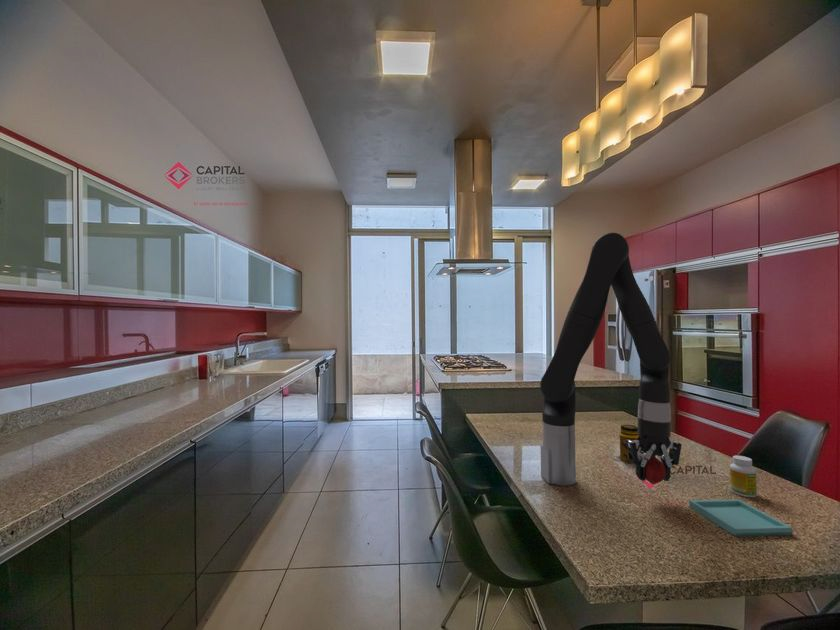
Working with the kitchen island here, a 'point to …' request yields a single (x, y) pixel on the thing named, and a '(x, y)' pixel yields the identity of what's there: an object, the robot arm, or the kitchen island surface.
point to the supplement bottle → (743, 477)
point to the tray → (740, 518)
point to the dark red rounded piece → (654, 470)
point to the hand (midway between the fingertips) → (653, 479)
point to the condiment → (626, 433)
